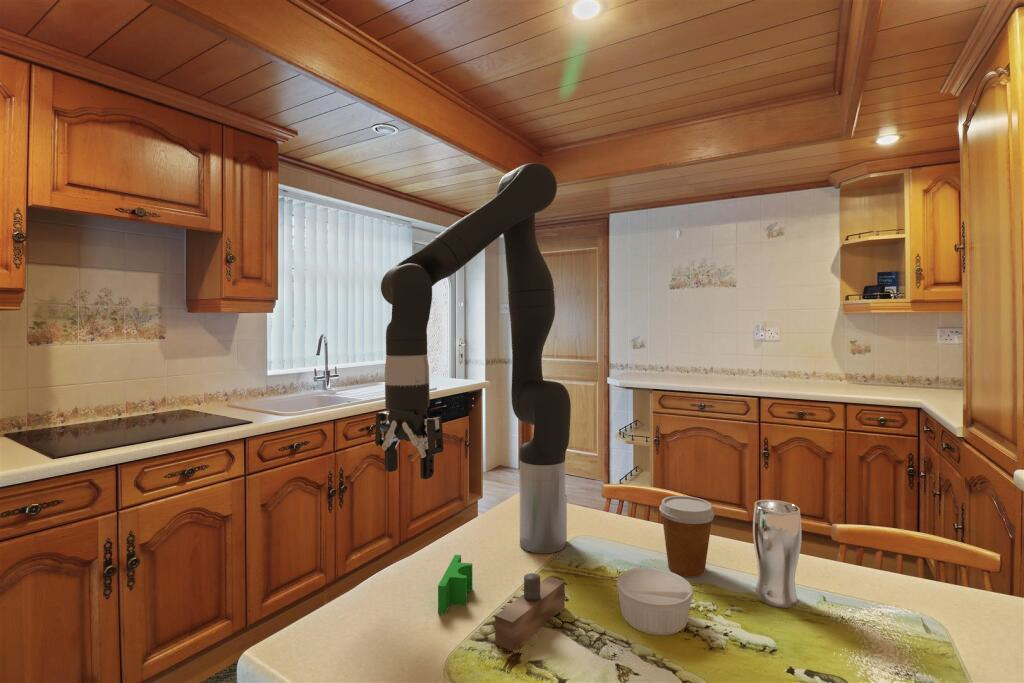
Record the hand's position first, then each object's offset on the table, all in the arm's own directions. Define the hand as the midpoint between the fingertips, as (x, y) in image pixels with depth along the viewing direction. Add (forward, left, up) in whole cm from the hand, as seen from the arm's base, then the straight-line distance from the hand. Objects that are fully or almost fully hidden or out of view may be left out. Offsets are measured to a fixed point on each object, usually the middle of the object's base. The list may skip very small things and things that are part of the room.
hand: (408, 474), depth 90 cm
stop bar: (-1, +25, -18) cm, 31 cm away
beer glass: (-30, +53, -19) cm, 64 cm away
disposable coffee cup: (-32, +38, -19) cm, 53 cm away
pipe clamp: (0, +11, -19) cm, 22 cm away
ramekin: (-13, +39, -19) cm, 45 cm away
